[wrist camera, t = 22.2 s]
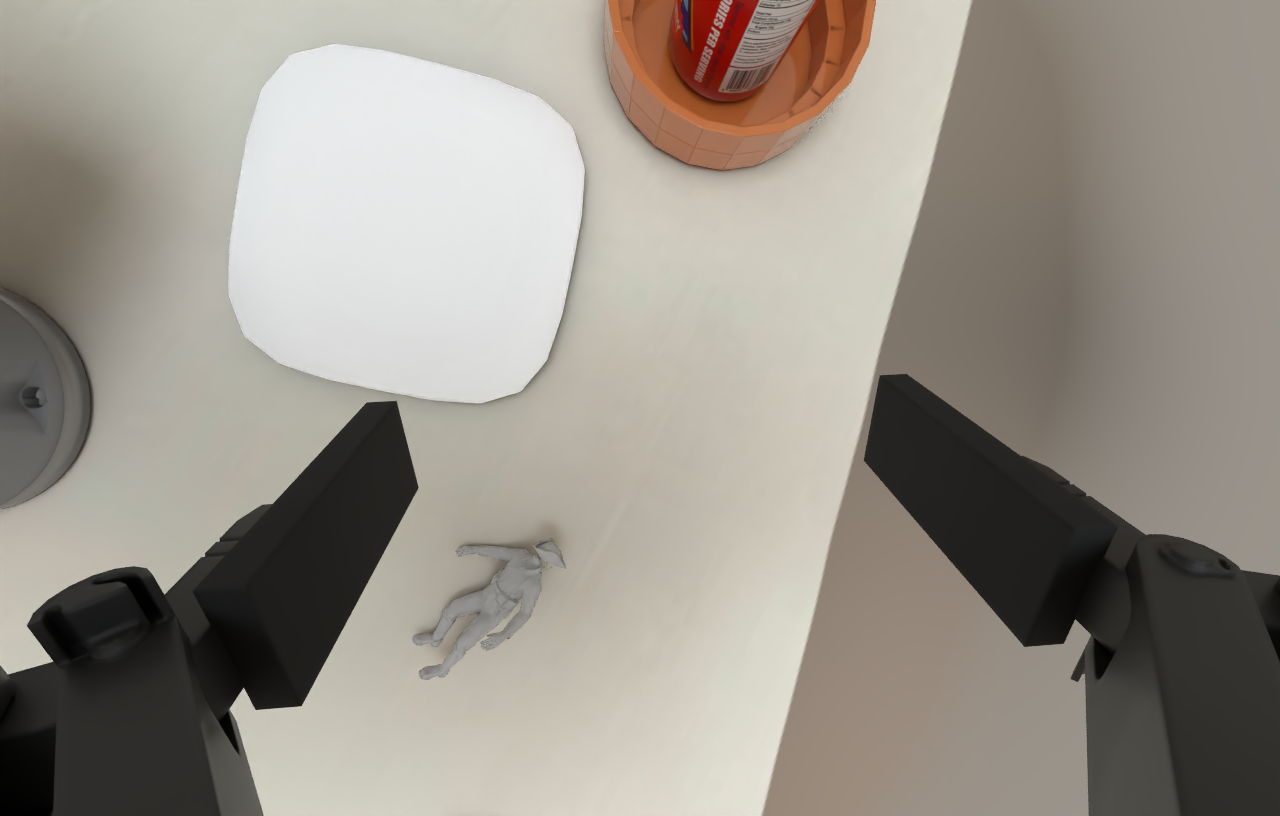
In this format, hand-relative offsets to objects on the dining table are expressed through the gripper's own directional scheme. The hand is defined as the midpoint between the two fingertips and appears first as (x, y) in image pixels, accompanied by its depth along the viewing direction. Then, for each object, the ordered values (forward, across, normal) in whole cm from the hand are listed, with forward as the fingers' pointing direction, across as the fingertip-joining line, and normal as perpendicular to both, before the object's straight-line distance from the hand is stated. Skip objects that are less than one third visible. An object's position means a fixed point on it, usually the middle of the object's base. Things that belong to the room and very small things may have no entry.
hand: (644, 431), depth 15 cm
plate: (+26, -14, +2) cm, 30 cm away
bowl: (+31, +8, +13) cm, 35 cm away
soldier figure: (+17, -10, -22) cm, 29 cm away
